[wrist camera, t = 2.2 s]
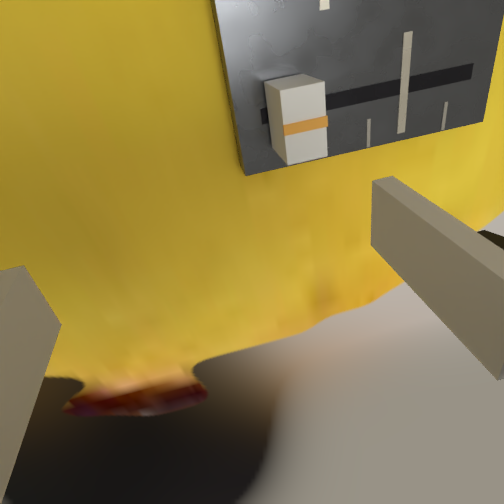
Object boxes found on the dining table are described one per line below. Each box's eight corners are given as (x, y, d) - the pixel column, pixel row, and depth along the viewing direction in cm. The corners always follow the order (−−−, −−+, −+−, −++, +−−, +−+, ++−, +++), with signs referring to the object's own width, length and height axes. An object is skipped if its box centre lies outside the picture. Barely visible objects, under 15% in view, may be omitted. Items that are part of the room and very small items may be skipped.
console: (240, 166, 33) (245, 176, 31) (187, -128, 22) (189, -143, 20) (464, 115, 35) (483, 121, 33) (512, -178, 24) (545, -197, 22)
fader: (271, 148, 30) (287, 166, 26) (263, 81, 27) (279, 91, 23) (308, 139, 30) (329, 156, 26) (303, 73, 27) (326, 81, 23)
